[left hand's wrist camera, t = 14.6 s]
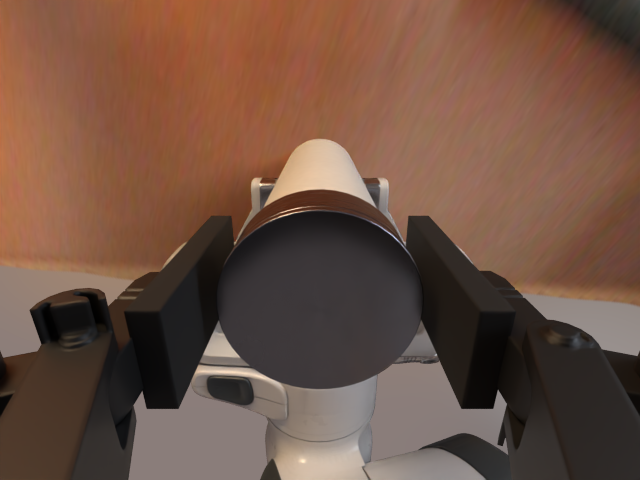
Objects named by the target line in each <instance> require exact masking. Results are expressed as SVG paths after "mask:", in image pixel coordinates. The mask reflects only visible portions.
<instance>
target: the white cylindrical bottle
mask: <svg viewBox="0 0 640 480" xmlns="http://www.w3.org/2000/svg"><path fill="white" fill-rule="evenodd" d="M315 189H326V190H336V191H340V192H344V193H348V194H351V195H354V196H356V197H359V198H361V199H363V200H365V201H366V202H368V203H370V204H371V205H373V206H374V207H376V206H375V204H374V202H373V200H372V198H371V196H370V194H369V192H368V190H367V188H366V186H365V184H364V183H363V181H362V179H361V177H360V175H359V173H358V171H357V169H356V167H355V165H354V163H353V161H352V159H351V157H350V156H349V154H348V153H347V151H346V150H345V149H344V148H343V147H341V146H340V145H339V144H337V143H335V142H333V141H330V140H326V139H314V140H310V141H307V142H305V143H303V144H301V145H300V146H298V147H297V148H296V149H295V150H294V151H293V152H292V154H291V155H290V157H289V159H288V161H287V163H286V165H285V167H284V169H283V171H282V173H281V175H280V176H279V178H278V180H277V182H276V184H275V186H274V188H273V190H272V192H271V194H270V196H269V198H268V200H267V202H266V203H265V205H264V207H265V206H267V205H268V204H270V203H272V202H273V201H275V200H277V199H279V198H281V197H284V196H286V195H289V194H292V193H295V192H299V191H305V190H315ZM264 207H263V208H264Z"/></svg>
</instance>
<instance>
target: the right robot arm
mask: <svg viewBox="0 0 640 480" xmlns="http://www.w3.org/2000/svg"><path fill="white" fill-rule="evenodd" d="M277 180H278V178H254V179H253V181H252V183H251V196H252V210H251V212H250V214H249V216H248V218H247V220H246V222H245V223H244V225H243V227H242V229H241V231H240V233H239V235H238V237H237V240H238V239H239V237H240V235H241V233H242V232H243V230H244V229H245V227H246V226H247V224H248V223H249V222H250V220H251V219H252V218H253V217H254V216H255V215H256V214H257V213H258V212H259V211H260V210H262V209H263V207H264V205H265V203H266V202H267V200H268V198H269V196H270V194H271V192H272V190H273V188H274V186H275V184H276V182H277ZM362 181H363V183H364V184H365V186H366V188H367V190H368V192H369V194H370V196H371V198H372V200H373V202H374V204H375V206H376V208H377V209H378V210H379V211H381V212H382V213H383V214H384V215H385V216H386V217H387V218H388V220H389V221H390V222H391V223H392V225H393V226H394V227H395V229H396V231H397V232H398V234H399V236H400V238H401V239H402V241H403V238H402V236H401V234H400V232H399V230H398V228H397V226H396V224H395V223H394V221H393V219H392V217H391V215H390V213H389V211H388V210H387V206H388V192H389V185H388V181H387V180H386V179H385V178H362ZM236 242H237V241H234V245H235V244H236ZM186 243H187V242H185V243H183V244H182V245H181V246H180V247H179V248H178V249H177V250H176V251H175V252H174V253H173V254H172V255H171V256H170V257H169V258H168V260H167V261H166V262H165V264H164V266H163V267H162V269H163V268H164V267H165V266H166V265H167V264H168V263H169V262H170V260H171V259H172V258H173V257H174V256H175V255H176V254H177V253H178V252H179V251H180V250H181V248H182V247H183V246H184V245H185V244H186ZM403 243H404V245H405V246H406V242H403ZM456 246H457V245H456ZM457 247H458V246H457ZM458 248H459V247H458ZM459 250H460V251H461V252H462V253H463V254H464V255H465V256H466V257H467V258H468V256H467V255H466V254H465V253H464V252H463V251H462V250H461V249H460V248H459ZM468 259H469V258H468ZM469 260H470V259H469ZM470 262H471V260H470ZM471 263H472V262H471ZM472 264H473V263H472ZM407 362H408V363H410V362H420V363H424V364H431V363H436V362H439V358H438V356H437V354H436V352H435V349H434V347H433V345H432V343H431V341H430V338H429V336H428V334H427V332H426V330H425V327H424V325H423V323H422V321H421V322H420V325H419V328H418V330H417V333H416V335H415V337H414V338H413V340H412V342H411V344H410V345H409V346H408V348H407V349H406V350H405V352H404V353H403V354H402V355H401V356H400V357H399V358H398V359H397V360H396V361H395V362H394V363H393V364H400V363H407ZM377 376H378V374H377V375H375V376H373V377H371V378H369V379H367V380H365V381H362V382H359V383H357V384H354V385H350V386H346V387H341V388H334V389H305V388H299V387H294V386H290V385H286V384H283V383H280V382H278V381H275V380H273V379H270V378H268V377H266V376H265V375H263V374H261V373H259V372H258V371H256V370H255V369H253V368H252V367H251V366H249V365H248V364H247V363H246V362H245V361H244V360H242V359H241V358H240V356H239V355H238V354H237V353H236V352H235V351H234V350H233V348H232V347H231V345H230V344H229V342H228V341H227V339H226V337H225V335H224V333H223V331H222V329H221V326H220V323H219V321H218V323H217V325H216V327H215V330H214V332H213V334H212V336H211V338H210V341H209V343H208V345H207V347H206V349H205V352H204V354H203V356H202V358H201V360H200V363H199V365H198V367H197V369H196V371H195V374H194V376H193V378H192V380H191V385H192V388H193V390H194V392H195V393H197V394H198V395H200V396H203V397H206V398H210V399H214V400H218V401H222V402H226V403H230V404H233V405H236V406H240V407H243V408H246V409H249V410H251V411H254V412H257V413H259V414H261V415H264V416H266V417H267V420H268V425H267V429H266V438H265V442H266V455H267V463H268V465H267V466H266V468H265V470H264V472H263V474H262V477H261V479H260V480H512V477H511V469H510V462H509V456H508V455H507V454H506V453H504V452H503V451H501V450H500V449H498V448H497V447H495V446H493V445H492V444H490V443H488V442H486V441H485V440H483V439H481V438H479V437H477V436H474V435H471V434H466V433H461V434H457V435H454V436H452V437H449V438H446V439H443V440H441V441H438V442H435V443H432V444H430V445H427V446H424V447H422V448H420V449H419V450H417V451H413V452H409V453H405V454H402V455H397V456H394V457H389V458H385V459H381V460H377V461H373V462H370V460H371V451H372V431H371V426H370V420H371V418H372V415H373V412H374V408H375V400H376V387H377Z"/></svg>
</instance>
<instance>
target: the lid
mask: <svg viewBox="0 0 640 480" xmlns="http://www.w3.org/2000/svg"><path fill="white" fill-rule="evenodd" d="M423 306H424V292H423V285H422V280H421V276H420V273H419V271H418V268H417V266H416V264H415V262H414V260H413V258H412V257H411V255H410V253H409V252H408V250H407V248H406V246H405V245H404V243H403V241H402V239H401V238H400V236H399V234H398V232H397V231H396V229H395V227H394V226H393V225H392V223H391V222H390V221H389V220H388V218H387V217H386V216H385V215H384V214H383V213H382V212H381V211H379V210H378V209H377V208H376V207H374V206H373V205H371V204H370V203H368V202H366V201H365V200H363V199H361V198H359V197H356V196H354V195H351V194H348V193H344V192H340V191H336V190H326V189H315V190H305V191H299V192H295V193H292V194H289V195H286V196H284V197H281V198H279V199H277V200H275V201H273V202H272V203H270V204H268V205H267V206H265V207H264V208H263V209H262V210H260V211H259V212H258V213H257V214H256V215H255V216H254V217H253V218H252V219H251V220H250V222H249V223H248V224H247V226H246V227H245V229H244V230H243V232H242V233H241V235H240V237H239V239H238V240H237V242H236V244H235V245H234V247H233V249H232V251H231V252H230V254H229V256H228V258H227V259H226V261H225V263H224V266H223V268H222V270H221V273H220V276H219V279H218V283H217V290H216V309H217V315H218V319H219V323H220V326H221V329H222V331H223V333H224V335H225V337H226V339H227V341H228V342H229V344H230V345H231V347H232V348H233V350H234V351H235V352H236V353H237V354H238V355H239V356H240V358H241V359H242V360H244V361H245V362H246V363H247V364H248V365H249V366H251V367H252V368H253V369H255V370H256V371H258V372H259V373H261V374H263V375H265V376H266V377H268V378H270V379H273V380H275V381H278V382H280V383H283V384H286V385H290V386H294V387H299V388H305V389H334V388H341V387H346V386H350V385H354V384H357V383H359V382H362V381H365V380H367V379H369V378H371V377H373V376H375V375H377V374H379V373H380V372H382V371H384V370H385V369H386V368H388V367H389V366H390V365H392V364H393V363H394V362H395V361H396V360H397V359H398V358H399V357H400V356H401V355H402V354H403V353H404V352H405V350H406V349H407V348H408V346H409V345H410V344H411V342H412V340H413V338H414V337H415V335H416V333H417V330H418V328H419V325H420V322H421V318H422V314H423Z"/></svg>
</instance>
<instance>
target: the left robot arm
mask: <svg viewBox="0 0 640 480" xmlns="http://www.w3.org/2000/svg"><path fill="white" fill-rule="evenodd" d="M233 247H234V238H233V228H232V218H231V216H211V217H210V218H209V219H208V220H207V221H206V222H205V224H204V225H203V226H202V227H201V228H200V229H199V230H198V231H197V232H196V233H195V234H194V235H193V237H192V238H191V239H190V240H189V241H188V242H187V243H186V244H185V245H184V246H183V247H182V248H181V250H180V251H179V252H178V253H177V254H176V255H175V256H174V257H173V258H172V259H171V260H170V262H169V263H168V264H167V265H166V266H165V267H164V268H163V269H162V270H161V271H160V272H149V273H147V274H146V275H144V276H142V277H140V278H138V279H136V280H135V281H134V282H133V283H132V284H131V285H130V286H129V287H128V288H127V289H126V291H124V292H122V293H121V294H120V295H119V296H118V299H115V300H114V301H113V302H112V303H111V304H110V305H109V306H108V305H107V301H106V297H105V293H104V292H102V291H101V290H99V289H92V288H83V289H74V290H70V291H65V292H61V293H58V294H56V295H53V296H50V297H48V298H46V299H44V300H42V301H41V302H39V303H37V304H36V305H35V306H34V307H32V308H31V309H30V313H31V316H32V318H33V321H34V324H35V327H36V330H37V333H38V335H39V338H40V341H41V344H42V345H41V346H40V348H39V350H38V351H37V352H31V353H26V354H21V355H16V356H10V357H5V358H3V357H2V354H1V352H0V480H128V478H129V471H130V463H131V456H132V449H133V442H134V435H135V427H136V415H135V410H134V406H133V405H134V403H135V402H136V400H137V398H138V397H139V395H140V394H141V392H142V391H143V395H144V399H145V403H146V407H147V409H178V408H179V406H180V404H181V402H182V400H183V398H184V395H185V393H186V391H187V389H188V387H189V385H190V382H191V380H192V378H193V376H194V374H195V371H196V369H197V367H198V365H199V363H200V360H201V358H202V356H203V354H204V352H205V349H206V347H207V345H208V343H209V341H210V338H211V336H212V334H213V332H214V330H215V327H216V325H217V323H218V321H219V319H218V315H217V309H216V290H217V283H218V279H219V276H220V273H221V270H222V268H223V266H224V263H225V261H226V259H227V258H228V256H229V254H230V252H231V251H232V249H233ZM406 248H407V250H408V252H409V253H410V255H411V257H412V258H413V260H414V262H415V264H416V266H417V268H418V271H419V273H420V276H421V280H422V285H423V292H424V306H423V314H422V318H421V321H422V323H423V325H424V327H425V330H426V332H427V334H428V336H429V338H430V341H431V343H432V345H433V347H434V349H435V352H436V354H437V356H438V358H439V360H440V362H441V365H442V367H443V369H444V371H445V374H446V376H447V378H448V380H449V382H450V384H451V387H452V389H453V391H454V393H455V395H456V398H457V400H458V402H459V404H460V406H461V408H462V409H493V408H494V403H495V399H496V395H497V391H498V390H499V392H500V393H501V395H502V397H503V398H504V400H505V401H506V403H507V406H506V410H505V414H504V418H503V422H502V426H501V430H500V434H499V438H498V445H500V446H503V443H504V439H505V438H506V441H507V448H508V455H509V462H510V469H511V477H512V480H640V352H639V354H638V356H634V355H628V354H623V353H618V352H612V351H607V350H602V349H601V347H600V346H599V344H598V343H597V342H596V341H595V339H594V338H593V337H592V336H590V335H589V334H587V333H586V332H584V331H583V330H581V329H579V328H577V327H574V326H572V325H570V324H567V323H563V322H559V321H555V320H547V319H546V318H545V317H544V316H543V315H542V314H541V313H540V312H539V311H538V310H537V309H536V308H535V307H534V306H533V305H531V304H530V303H529V302H528V301H527V300H526V299H525V298H523V296H522V295H521V294H520V293H519V292H518V291H517V290H515V288H514V287H513V286H512V285H511V284H510V283H509V282H508V281H507V280H506V279H504V278H503V277H501V276H499V275H497V274H495V273H493V272H491V271H479V270H478V269H477V268H476V267H475V266H474V265H473V264H472V263H471V262H470V260H469V259H468V258H467V257H466V256H465V255H464V254H463V253H462V252H461V251H460V250H459V248H458V247H457V246H456V245H455V244H454V243H453V242H452V241H451V240H450V239H449V238H448V237H447V235H446V234H445V233H444V232H443V231H442V230H441V229H440V228H439V227H438V226H437V225H436V224H435V222H434V221H433V220H432V219H431V218H430V217H429V216H409V218H408V228H407V238H406Z"/></svg>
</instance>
